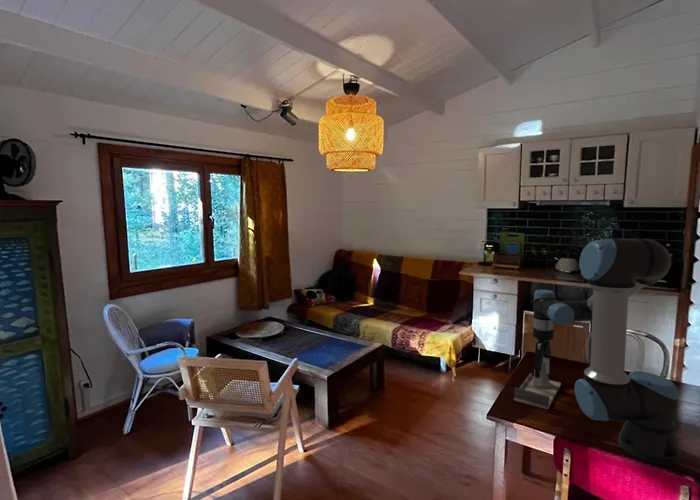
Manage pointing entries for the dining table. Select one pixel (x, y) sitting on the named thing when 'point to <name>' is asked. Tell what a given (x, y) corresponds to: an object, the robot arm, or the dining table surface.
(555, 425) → the dining table surface
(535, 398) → the stand board
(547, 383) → the flask
